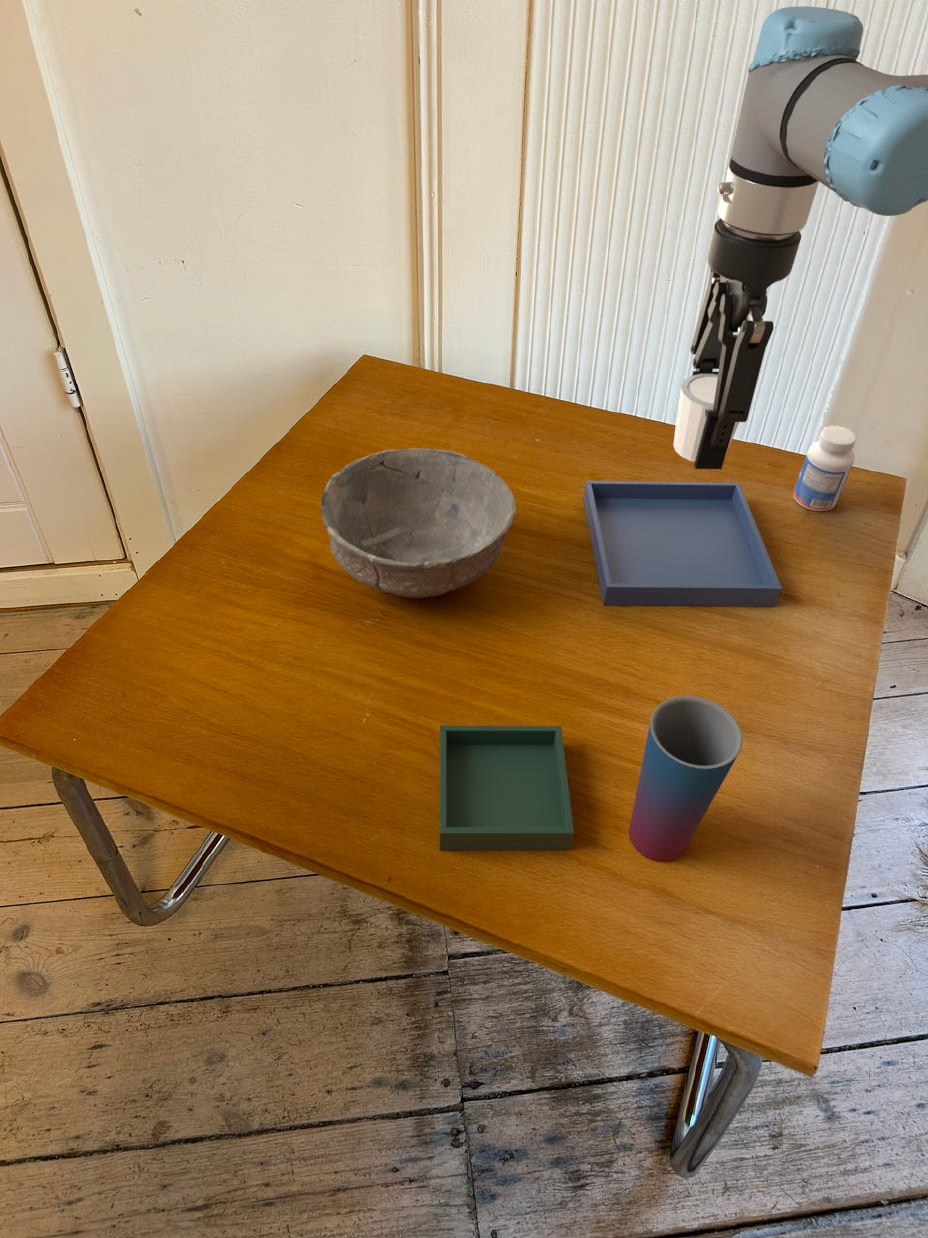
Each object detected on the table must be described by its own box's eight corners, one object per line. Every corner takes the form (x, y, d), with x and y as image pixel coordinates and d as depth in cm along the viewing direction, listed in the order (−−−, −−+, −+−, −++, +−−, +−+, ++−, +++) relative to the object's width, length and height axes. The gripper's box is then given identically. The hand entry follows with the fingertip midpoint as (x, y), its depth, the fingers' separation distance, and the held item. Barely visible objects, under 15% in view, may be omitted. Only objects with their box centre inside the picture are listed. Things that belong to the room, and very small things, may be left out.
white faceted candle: (734, 470, 89) (752, 411, 84) (667, 462, 90) (681, 403, 85) (730, 433, 94) (747, 376, 89) (667, 426, 94) (680, 369, 89)
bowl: (536, 543, 102) (544, 474, 95) (463, 659, 89) (466, 589, 81) (382, 495, 108) (379, 426, 100) (291, 597, 94) (280, 526, 87)
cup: (708, 824, 76) (754, 719, 65) (681, 886, 71) (725, 783, 61) (636, 790, 78) (669, 682, 67) (606, 847, 74) (636, 742, 63)
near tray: (570, 850, 74) (574, 833, 72) (439, 850, 73) (439, 833, 71) (558, 743, 81) (561, 725, 79) (439, 743, 81) (439, 725, 79)
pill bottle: (808, 481, 112) (833, 416, 105) (844, 501, 109) (872, 436, 103) (783, 497, 110) (807, 432, 103) (819, 518, 107) (846, 452, 100)
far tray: (775, 606, 95) (782, 588, 93) (603, 605, 95) (606, 586, 93) (733, 500, 109) (739, 482, 107) (583, 498, 108) (585, 480, 106)
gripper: (693, 182, 82) (649, 396, 98) (744, 271, 68) (683, 502, 85) (771, 184, 82) (714, 397, 99) (837, 273, 68) (758, 503, 85)
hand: (700, 445), depth 92 cm, fingers closed on white faceted candle, 7 cm apart
